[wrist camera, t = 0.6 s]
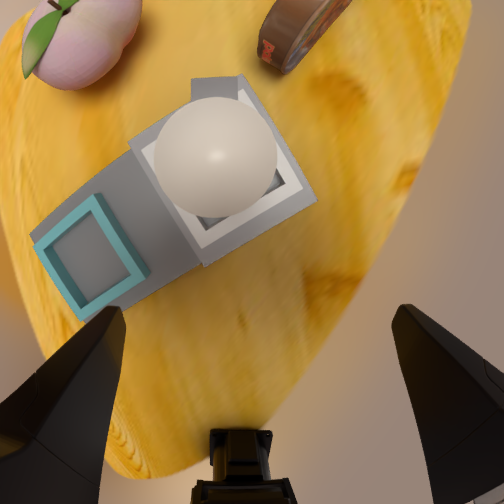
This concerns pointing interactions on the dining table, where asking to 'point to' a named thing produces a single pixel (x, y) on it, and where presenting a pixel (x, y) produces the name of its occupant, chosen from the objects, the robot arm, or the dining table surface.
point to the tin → (295, 29)
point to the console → (151, 225)
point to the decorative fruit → (77, 40)
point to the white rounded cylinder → (215, 152)
